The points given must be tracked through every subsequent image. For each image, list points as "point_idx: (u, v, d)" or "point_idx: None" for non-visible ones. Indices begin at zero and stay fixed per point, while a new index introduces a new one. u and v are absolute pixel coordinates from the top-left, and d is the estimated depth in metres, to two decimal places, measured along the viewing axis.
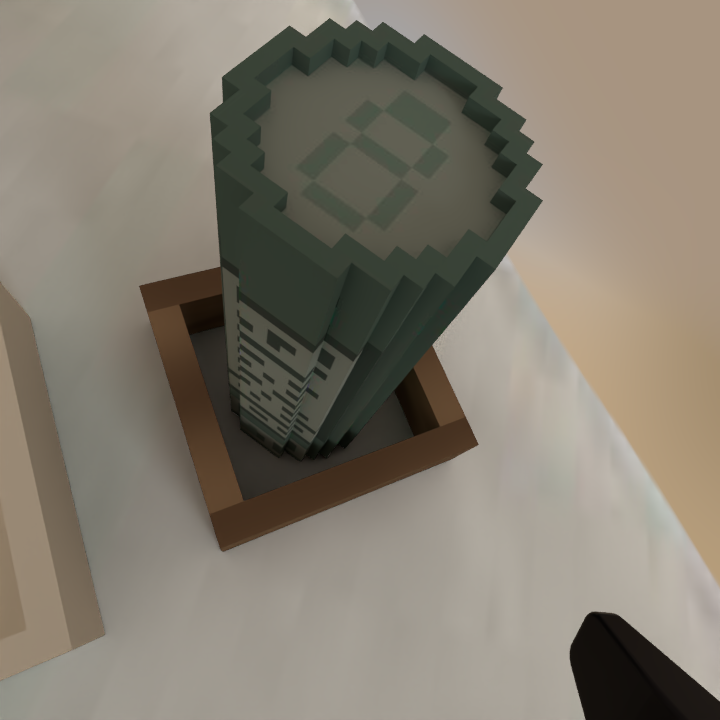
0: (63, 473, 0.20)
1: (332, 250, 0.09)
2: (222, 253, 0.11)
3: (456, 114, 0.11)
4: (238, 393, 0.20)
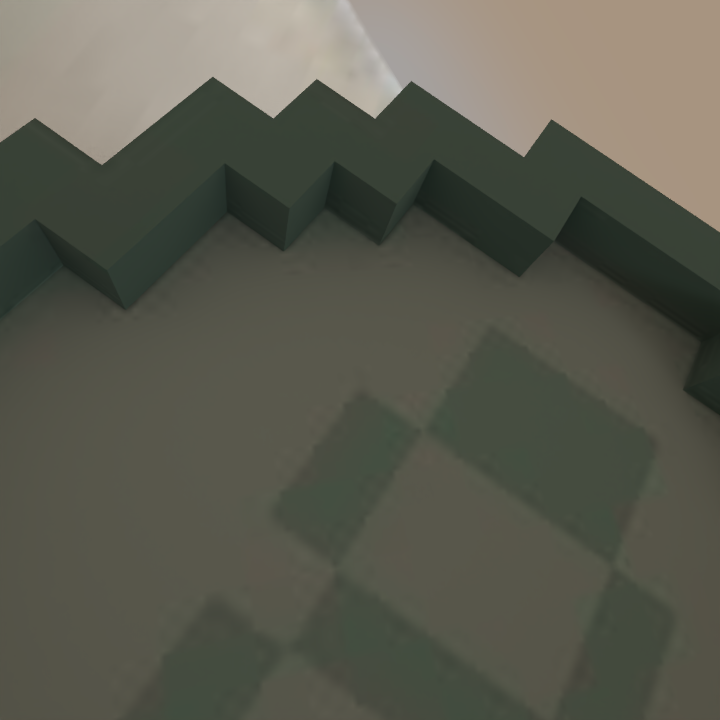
0: None
1: None
2: None
3: (671, 403, 0.03)
4: None
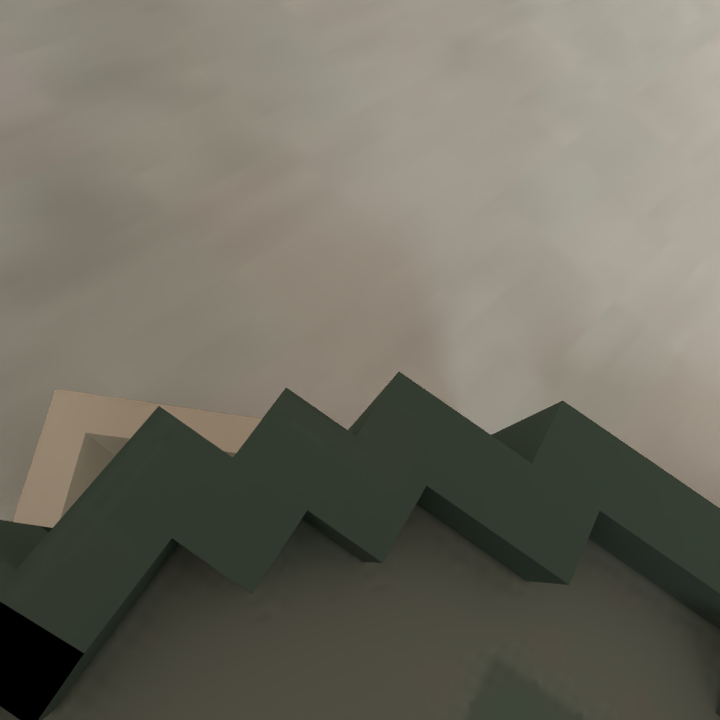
0: None
1: None
2: None
3: None
4: None
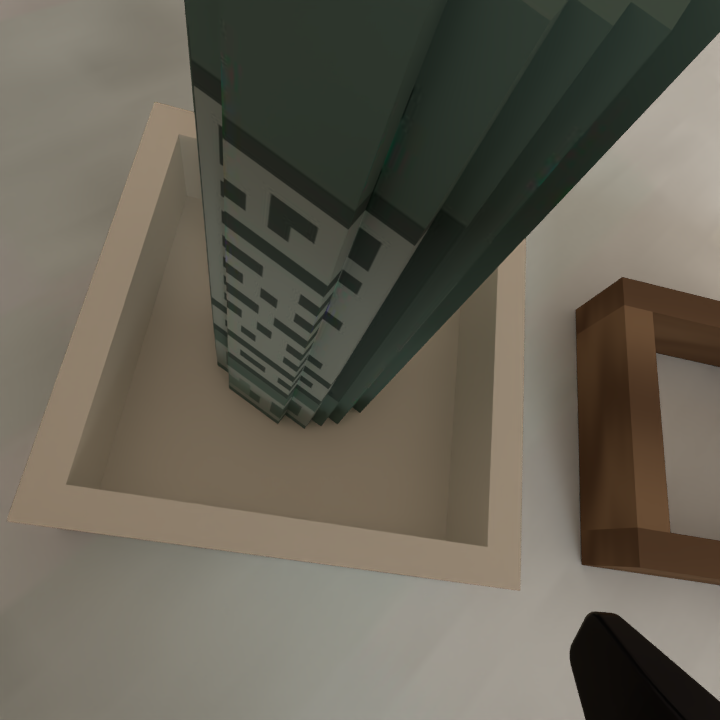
0: None
1: None
2: (192, 49, 0.07)
3: None
4: (225, 337, 0.15)
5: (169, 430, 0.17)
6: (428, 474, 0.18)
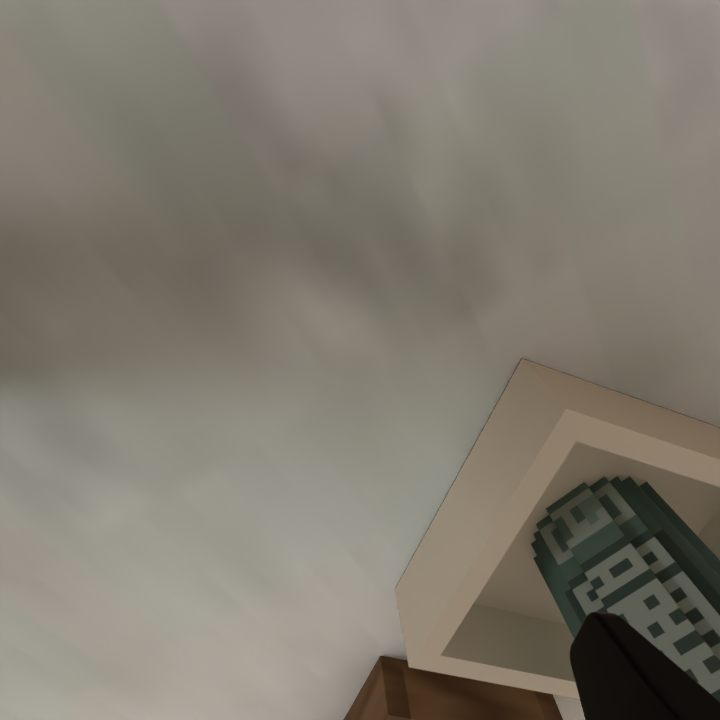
0: None
1: None
2: None
3: None
4: (638, 534, 0.20)
5: None
6: None
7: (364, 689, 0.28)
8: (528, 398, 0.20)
